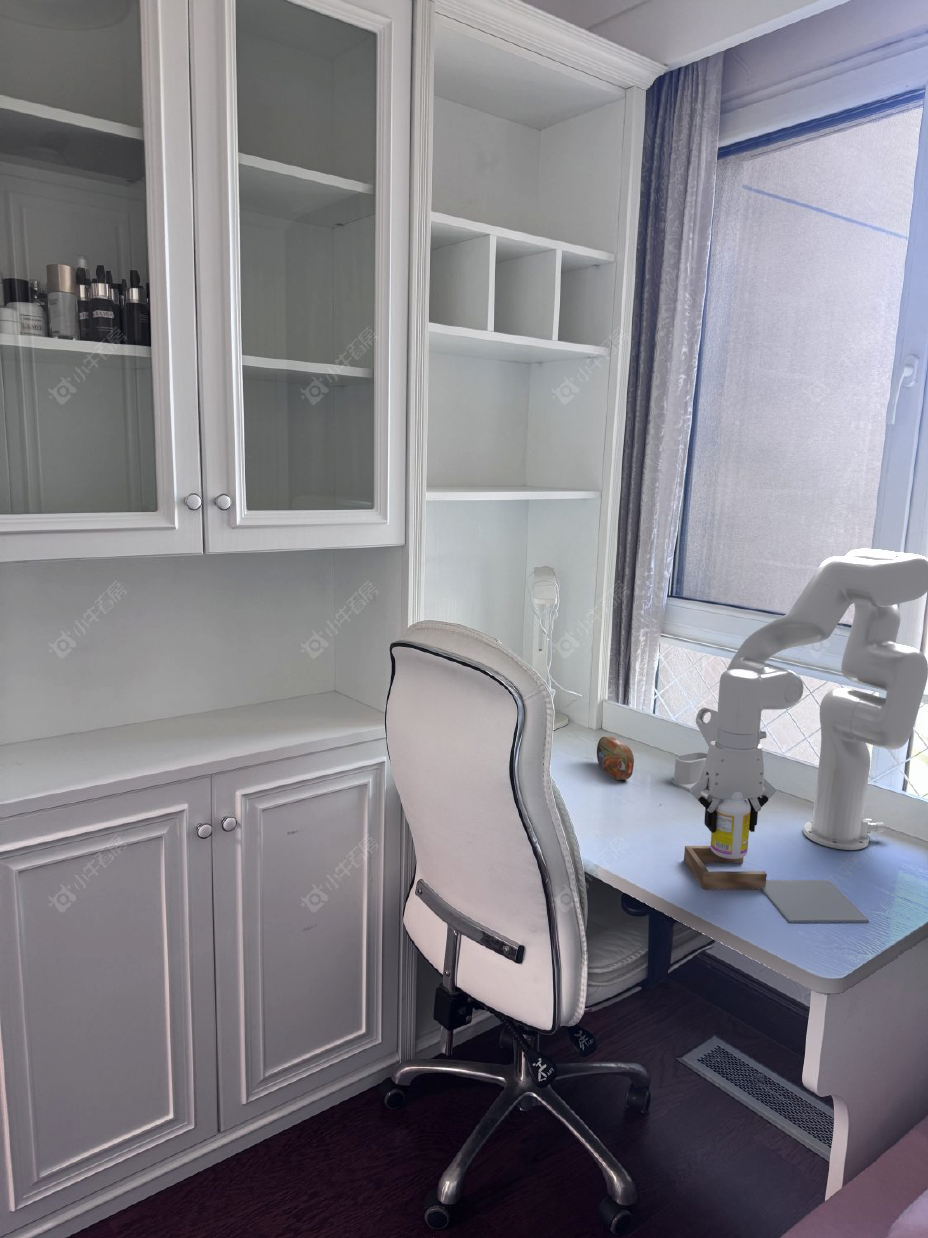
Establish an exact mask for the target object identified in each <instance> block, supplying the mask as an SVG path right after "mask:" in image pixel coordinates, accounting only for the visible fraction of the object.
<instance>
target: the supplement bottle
mask: <svg viewBox="0 0 928 1238" xmlns="http://www.w3.org/2000/svg"><path fill="white" fill-rule="evenodd" d="M750 810H751V807H750V804H749V802H748V801H746V800H745V799H743V795H742V793H741V792H735V793H733V795H732V796H731V799H721V800H720V801H719V803H718V805H717V807H716V808H715V812H716V813H717V821H716V832H715V833H711V832H710V833H711V834H710V846H711V850H712V851H713V852H714V853H715V854H716V855H718V856H720V857H723V858H728V859H739V858H742V857H744V858H745V857H746V856H747V854H748V849H749V838H750V837H749V835H750V831H749V824H750Z"/></svg>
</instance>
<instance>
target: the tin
mask: <svg viewBox="0 0 928 1238" xmlns="http://www.w3.org/2000/svg"><path fill="white" fill-rule="evenodd" d="M596 758H597V759H596V760H597V764H598V766H599V768H600V769H601V770H603V772H605V773H606V774H608V775H609V776H610V777H612V778H613V779H614V780H616V781H622V780H623V781H624V780H629V779H630V778H631V777H632V775H633V771H634V767H635V766H634V763H635V759H634V758H635V757H634V754H633V751H632V749H631V748H630V747H629V746H628V745H627V744H625V743H623V742H621V741H620V740H618V739H617V738H616V737H614V736H602V737H601V738H599V741H598V743H597V747H596Z"/></svg>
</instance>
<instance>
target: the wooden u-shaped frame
mask: <svg viewBox="0 0 928 1238" xmlns="http://www.w3.org/2000/svg"><path fill="white" fill-rule="evenodd" d="M683 852H684V854H683V861H684V863H685V864H686V866H687V867H688V869H689V870H690V872H691V873H692V874H693V877H694V878H695V879H696V881H697V882H698V883H699V885H700V886H701V888H702V889H703V890H762V887H766V880H767V876H768V874H767V873H766V871H765V870H764V871H758V870H757V871H755V870H754V871H752V870H751V871H750V870H749V871H741V870H740V871H737V870H736V871H735V870H733V871H731V870H730V871H724V870H721V871H711V870H710V871H709V869H708V868H707V867H706V865H705V863H706V864H709V863H710V864H714V863H715V864H719V863H721V864H725V863H726V864H731V863H733V864H735V863H736V864H737V863H739V864H740V863H741V864H742V863H744V858H745V856H744V857H742V858H739V859H728V858H723V857H720V856H718V855H716V854H715V853H714V852H713V851H712V850H711V845H685V846H684V851H683Z"/></svg>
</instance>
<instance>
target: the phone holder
mask: <svg viewBox="0 0 928 1238" xmlns="http://www.w3.org/2000/svg"><path fill="white" fill-rule="evenodd" d="M717 712H718V710H714V709H710V708H708V707H702V708H701V709H699V710H698V712H697V714H696V718H695V724H696V726H697V728H698V730H699V731H700V733H701V735H702V737H703V738H704V740H705V743H706V744H707V746H708V747H709V746H710V743H711V742H712V741H715V740H716V726H717ZM707 713H709V714H710V718H709V720H708V722H706V721H705V716H706V714H707ZM706 757H707V753H706V752H692V753H691V752H690V753H686V754H683V755H682V754H681V755H679V756H676V757H675V765H674V776H673V778H672V779H671V783H672V784H673V785H675V786H677V785H678V786H677V787H679V786H680V788H682V789H683V790H685V791H688V792H690V788H691V787H693V786H694V785H695V784H696V783H698V782H699V781H700V780H701V779H702V778H703V774H704V768H705V762H706ZM709 792H710V791H707V790H705V789H704V790H702V792H701V794H702V795H703V796H704V797H705V798H706V797H707V795H708V793H709ZM745 800H746V801H748V800H747V799H745Z"/></svg>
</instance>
